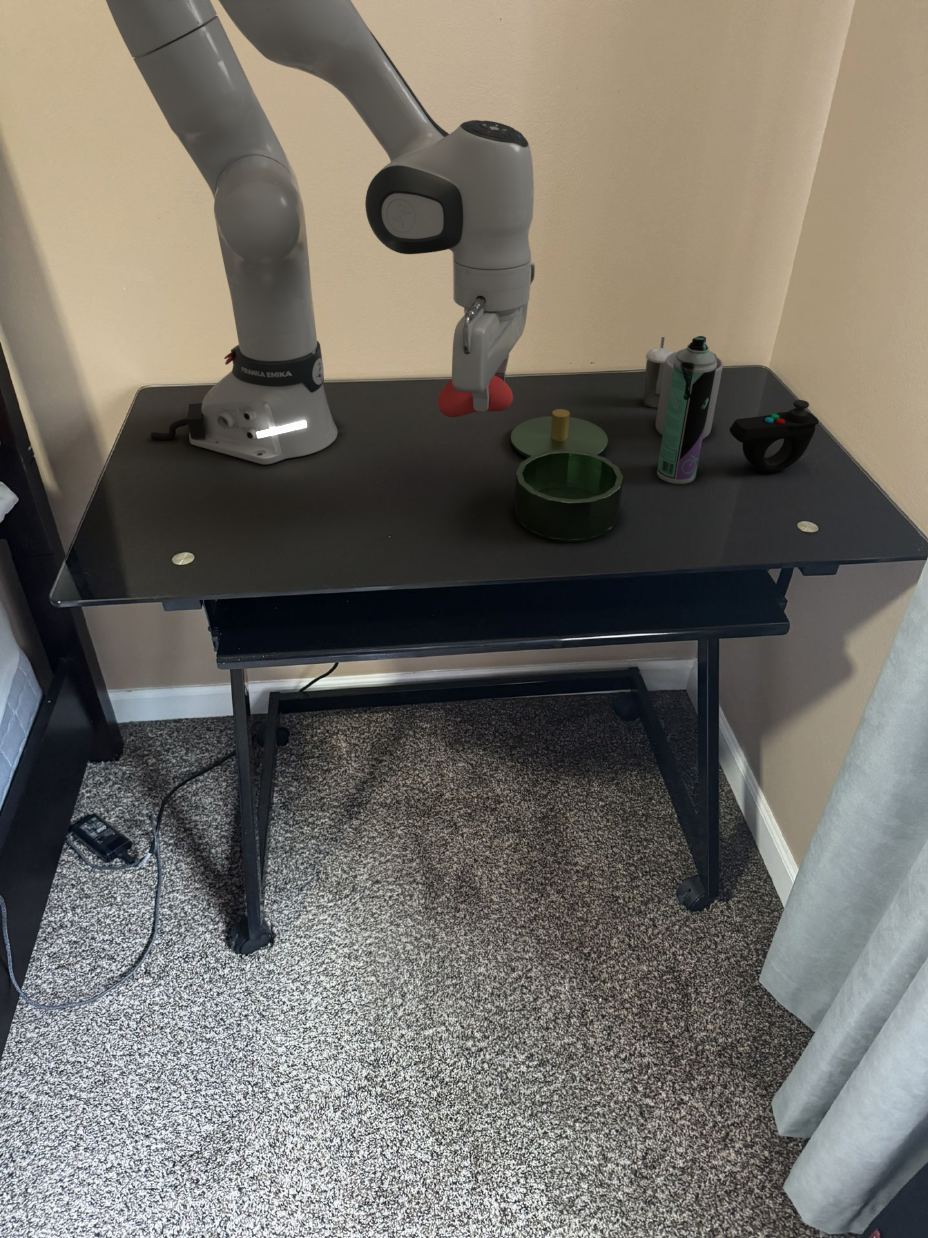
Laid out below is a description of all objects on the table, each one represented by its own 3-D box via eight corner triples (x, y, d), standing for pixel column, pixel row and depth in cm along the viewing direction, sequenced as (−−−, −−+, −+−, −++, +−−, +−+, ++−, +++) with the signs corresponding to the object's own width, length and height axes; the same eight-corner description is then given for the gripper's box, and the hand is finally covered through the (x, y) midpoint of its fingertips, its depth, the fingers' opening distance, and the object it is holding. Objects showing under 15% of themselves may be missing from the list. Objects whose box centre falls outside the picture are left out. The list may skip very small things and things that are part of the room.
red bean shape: (444, 409, 114) (427, 377, 108) (509, 382, 112) (495, 349, 107) (452, 438, 111) (435, 407, 106) (519, 412, 110) (505, 379, 104)
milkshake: (668, 396, 146) (677, 337, 139) (667, 410, 142) (676, 350, 135) (641, 394, 147) (649, 335, 140) (638, 407, 142) (646, 348, 136)
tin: (504, 533, 114) (505, 492, 110) (528, 482, 124) (530, 443, 120) (608, 549, 111) (613, 509, 107) (624, 496, 121) (629, 457, 117)
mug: (650, 416, 140) (660, 349, 133) (703, 416, 140) (716, 349, 133) (664, 452, 131) (675, 383, 124) (721, 452, 131) (736, 382, 124)
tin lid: (499, 460, 129) (500, 428, 126) (522, 417, 140) (524, 386, 137) (598, 474, 126) (601, 441, 122) (614, 429, 137) (617, 398, 133)
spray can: (695, 485, 123) (722, 347, 111) (656, 481, 124) (677, 343, 111) (695, 467, 127) (721, 331, 115) (657, 463, 128) (678, 328, 116)
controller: (810, 471, 126) (828, 407, 120) (731, 481, 124) (745, 416, 118) (794, 457, 129) (811, 394, 123) (717, 467, 127) (730, 403, 121)
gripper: (493, 318, 92) (491, 437, 101) (538, 260, 107) (533, 368, 116) (436, 311, 93) (439, 430, 102) (488, 255, 109) (487, 363, 117)
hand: (489, 397), depth 109 cm, fingers closed on red bean shape, 5 cm apart
